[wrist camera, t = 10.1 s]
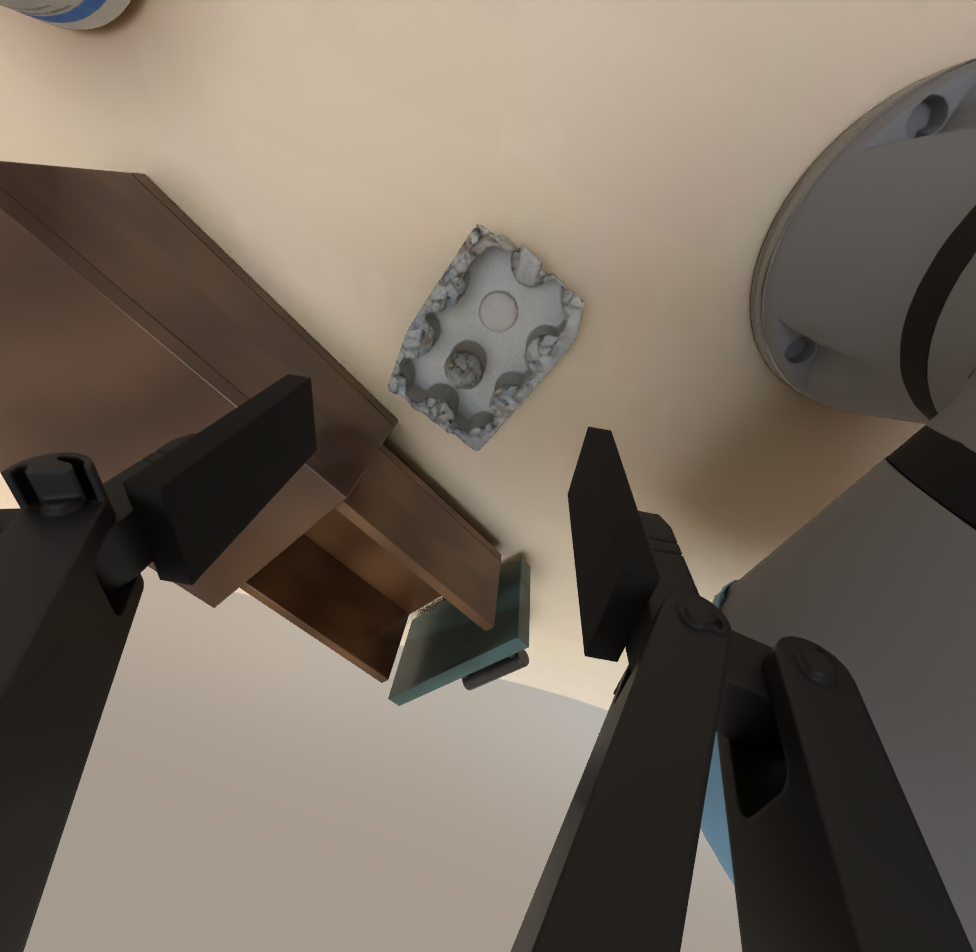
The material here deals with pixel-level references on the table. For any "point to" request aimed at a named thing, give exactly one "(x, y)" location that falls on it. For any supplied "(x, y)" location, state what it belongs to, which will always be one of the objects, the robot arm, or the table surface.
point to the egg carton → (485, 338)
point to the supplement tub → (70, 11)
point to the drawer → (402, 587)
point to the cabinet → (155, 348)
